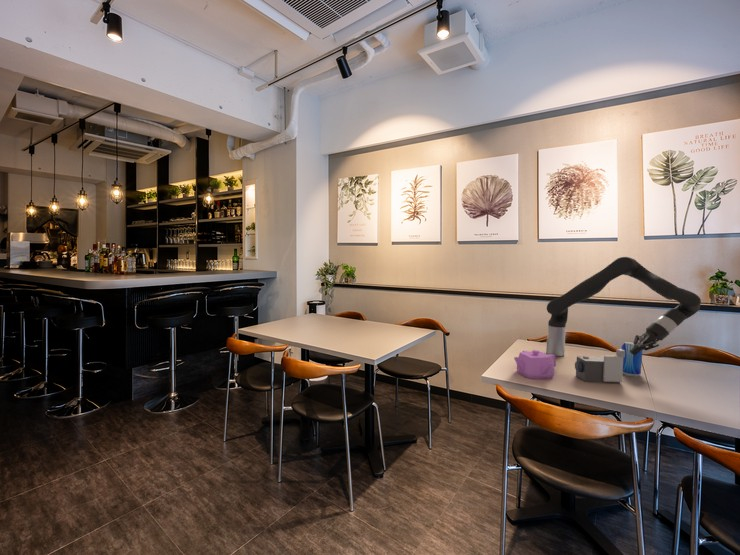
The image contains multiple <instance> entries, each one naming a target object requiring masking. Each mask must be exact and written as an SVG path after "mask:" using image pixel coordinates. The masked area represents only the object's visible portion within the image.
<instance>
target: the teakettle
mask: <svg viewBox="0 0 740 555" xmlns="http://www.w3.org/2000/svg"><path fill="white" fill-rule="evenodd" d="M513 359H514V361H515V363H516V371H517V373H518V374H520V375H521V376H524V377H525V378H526V379H529V380H543V379H553V378H554V375H555V367H556V356H555V355H552V354H546V352H545V353H544V352H542V351H540V350H537V349H533V350H532V351H529V350H522V351H521V352H519V354H518V356H514V357H513Z"/></svg>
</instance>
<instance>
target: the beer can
mask: <svg viewBox="0 0 740 555" xmlns="http://www.w3.org/2000/svg"><path fill="white" fill-rule="evenodd" d="M634 347H635V345H634V341H624V342H623V344H622V345H621V349H622V350H624V351H625V357H623V373H622V375H625V376H629V377H636V378H637V377H640V375H641V374H642V363H643V362H642V361H643V350H641V351H640V352H638V353H637V354H636V355H633V354H631V353H630V350H631V349H632V348H634Z"/></svg>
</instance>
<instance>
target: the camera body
mask: <svg viewBox="0 0 740 555" xmlns="http://www.w3.org/2000/svg"><path fill="white" fill-rule="evenodd" d="M603 368H604V356H587V355H580V356H579V355H577V356H576V361H575V363H574V369H575V377H576V378H578V379H580V380H581V381H583V382H584V383H608V384H620V383H621V382H607V381H603Z"/></svg>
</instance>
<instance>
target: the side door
mask: <svg viewBox="0 0 740 555" xmlns="http://www.w3.org/2000/svg"><path fill="white" fill-rule="evenodd" d="M615 352H616V353H615V354H616V355H603V357H604V368H603V381H607V382H620V383H622V382H623V357H625V351H624V350H622V348H616V350H615Z"/></svg>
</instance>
